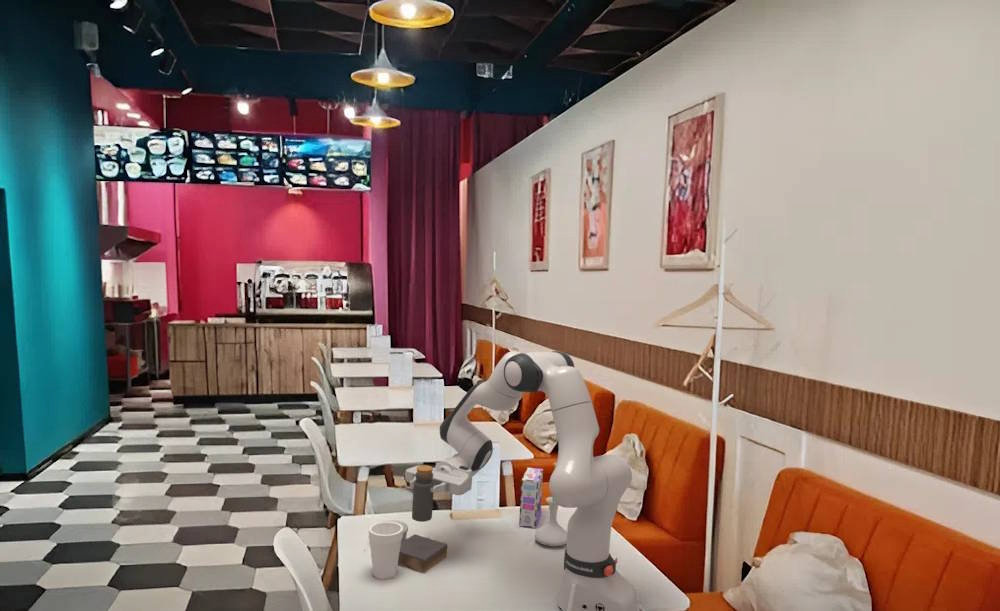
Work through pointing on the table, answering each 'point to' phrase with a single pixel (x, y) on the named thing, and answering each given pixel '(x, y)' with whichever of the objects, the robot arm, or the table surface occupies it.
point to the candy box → (531, 497)
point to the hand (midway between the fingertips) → (421, 487)
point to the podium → (421, 553)
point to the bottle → (422, 494)
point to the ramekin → (404, 525)
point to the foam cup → (385, 548)
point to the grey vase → (551, 527)
